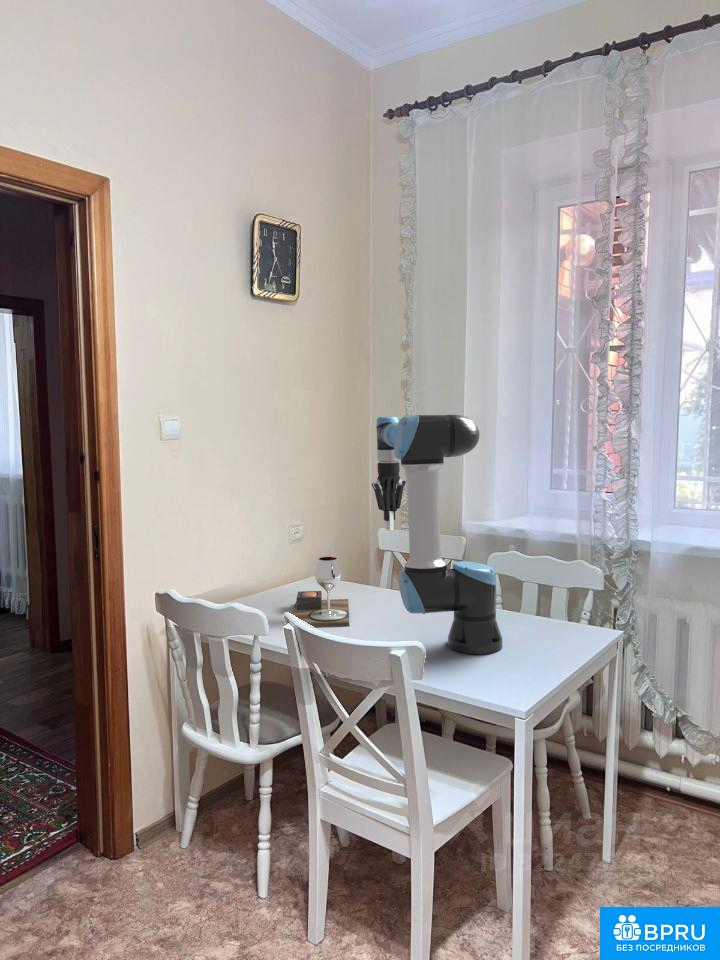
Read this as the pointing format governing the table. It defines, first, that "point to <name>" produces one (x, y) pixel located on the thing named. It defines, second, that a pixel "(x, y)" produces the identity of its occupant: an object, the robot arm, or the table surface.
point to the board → (313, 606)
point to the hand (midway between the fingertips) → (389, 529)
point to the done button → (309, 594)
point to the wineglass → (328, 579)
